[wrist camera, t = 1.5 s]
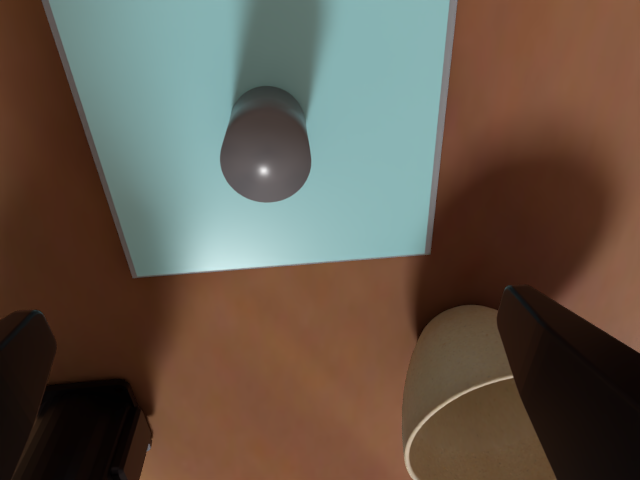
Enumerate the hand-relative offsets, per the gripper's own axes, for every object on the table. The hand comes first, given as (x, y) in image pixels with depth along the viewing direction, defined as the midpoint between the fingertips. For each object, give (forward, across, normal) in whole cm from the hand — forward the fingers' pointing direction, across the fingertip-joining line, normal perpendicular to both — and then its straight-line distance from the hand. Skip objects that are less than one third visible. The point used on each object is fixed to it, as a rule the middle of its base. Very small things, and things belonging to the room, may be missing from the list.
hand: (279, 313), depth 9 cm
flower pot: (+12, -10, +14) cm, 21 cm away
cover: (+12, +1, 0) cm, 12 cm away
